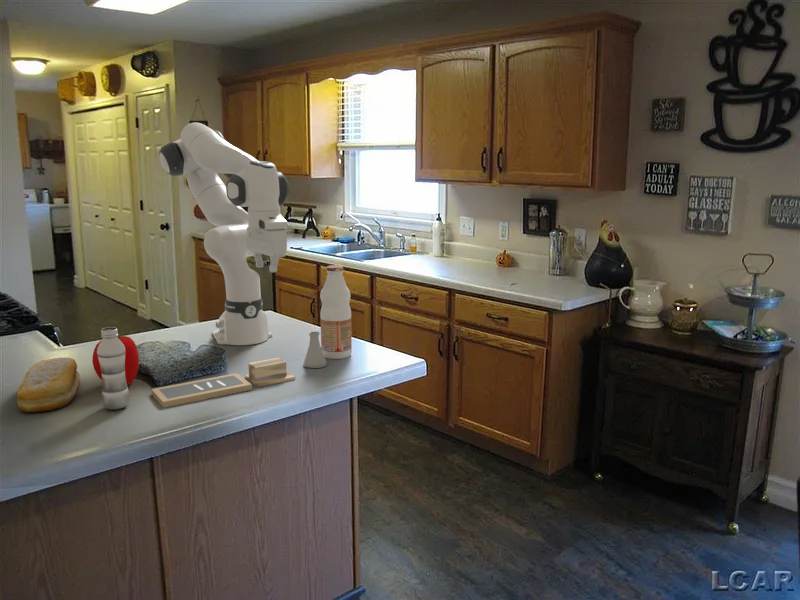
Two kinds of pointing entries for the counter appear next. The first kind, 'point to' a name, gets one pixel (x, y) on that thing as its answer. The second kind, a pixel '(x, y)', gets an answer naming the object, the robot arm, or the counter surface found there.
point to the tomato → (130, 359)
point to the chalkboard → (200, 389)
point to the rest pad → (271, 380)
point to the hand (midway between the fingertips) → (266, 269)
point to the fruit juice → (335, 315)
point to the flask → (314, 353)
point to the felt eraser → (267, 369)
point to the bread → (48, 385)
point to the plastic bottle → (113, 370)
